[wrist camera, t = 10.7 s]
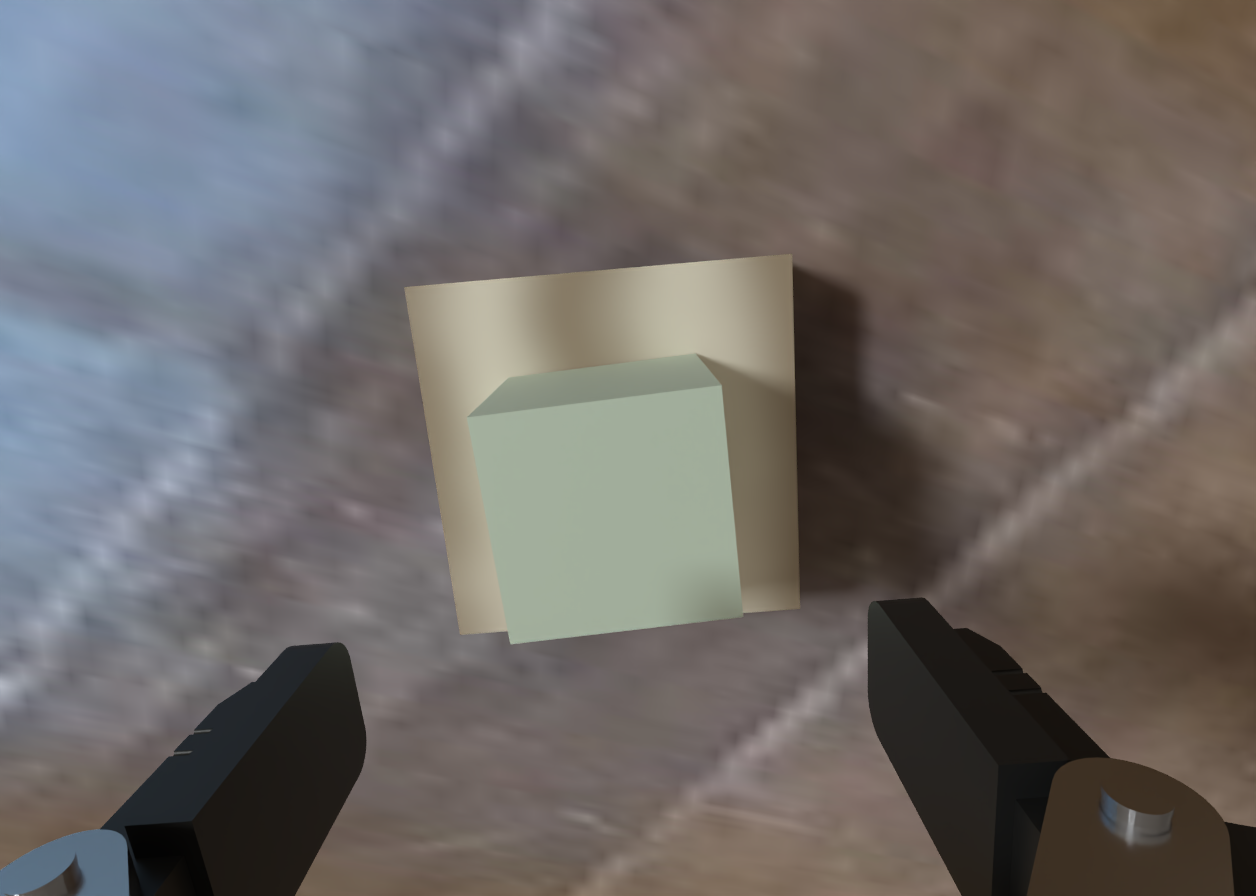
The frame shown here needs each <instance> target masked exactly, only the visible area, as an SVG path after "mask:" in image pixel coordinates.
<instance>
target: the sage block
mask: <svg viewBox="0 0 1256 896" xmlns="http://www.w3.org/2000/svg"><path fill="white" fill-rule="evenodd" d="M467 422H468V427H469V432H470V437H471V443H472V448H473V453H474V458H475V463H476V468H477V474H478V479H479V484H480V489H481V494H482V500H483V505H484V510H485V515H486V520H487V526H488V531H489V536H490V541H491V546H492V552H493V557H494V562H495V567H496V572H497V577H498V583H499V588H500V593H501V598H502V603H503V609H504V614H505V619H506V624H507V629H508V635H509V640H510V644H517V643H525V642H534V641H542V640H551V639H559V638H568V637H577V636H585V635H594V634H602V633H611V632H619V631H628V630H636V629H645V628H653V627H662V626H670V625H679V624H687V623H696V622H704V621H713V620H721V619H730V618H738V617H743V608H742V597H741V587H740V576H739V565H738V555H737V544H736V533H735V523H734V512H733V501H732V491H731V480H730V469H729V459H728V448H727V437H726V427H725V416H724V405H723V395H722V385H721V384H720V383H719V381H718V380H717V379H716V378H715V376H714V375H713V374H712V373H711V372H710V370H709V369H708V368H707V367H706V366H705V364H704V363H703V362H702V361H701V359H700V358H699V357H698V356H697V355H696V353H695V354H688V355H680V356H672V357H664V358H657V359H649V360H641V361H633V362H625V363H618V364H610V365H602V366H594V367H586V368H579V369H571V370H563V371H555V372H548V373H540V374H532V375H524V376H516V377H509V378H508V379H507V380H505V381H504V382H503V383H502V384H501V385H500V386H499V387H498V388H497V389H496V390H495V391H494V392H493V393H492V394H491V395H490V396H489V397H488V398H487V399H486V400H485V401H483V402H482V403H481V404H480V405H479V406H478V407H477V408H476V409H475V410H474V411H473V412H472V413H471V414H470V415H469V416H468V417H467Z"/></svg>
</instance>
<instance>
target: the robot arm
mask: <svg viewBox="0 0 1256 896" xmlns="http://www.w3.org/2000/svg"><path fill="white" fill-rule="evenodd" d="M868 700H869V708H870V713H871V718H872V722H873V725H874V728H875V731H876V734H877V736H878V738H879V740H880V742H881V744H882V746H883V748H884V750H885V752H886V753H887V755H888V757H889V759H890V761H891V763H892V765H893V767H894V769H895V771H896V772H897V774H898V776H899V778H900V780H901V782H902V784H903V786H904V788H905V789H906V791H907V793H908V795H909V797H910V799H911V801H912V803H913V805H914V806H915V808H916V810H917V812H918V814H919V816H920V818H921V820H922V822H923V823H924V825H925V827H926V829H927V831H928V833H929V835H930V837H931V839H932V840H933V842H934V844H935V846H936V848H937V850H938V852H939V854H940V856H941V857H942V859H943V861H944V863H945V865H946V867H947V869H948V871H949V873H950V875H951V876H952V878H953V880H954V882H955V884H956V886H957V888H958V890H959V892H960V893H961V895H962V896H1256V827H1250V826H1244V825H1238V824H1233V823H1228V822H1224V821H1223V819H1222V817H1221V816H1220V815H1219V813H1218V812H1217V811H1216V810H1215V808H1214V807H1213V806H1212V805H1211V804H1209V803H1208V802H1207V801H1206V800H1205V799H1204V798H1203V797H1202V796H1200V795H1199V794H1198V793H1196V792H1195V791H1194V790H1192V789H1191V788H1189V787H1188V786H1186V785H1185V784H1183V783H1181V782H1180V781H1178V780H1176V779H1174V778H1172V777H1170V776H1168V775H1166V774H1164V773H1161V772H1159V771H1157V770H1154V769H1152V768H1149V767H1146V766H1143V765H1140V764H1136V763H1132V762H1128V761H1124V760H1118V759H1112V758H1110V757H1109V756H1108V755H1107V754H1106V753H1105V752H1104V751H1103V750H1102V749H1101V748H1100V747H1099V746H1098V745H1097V744H1096V743H1095V742H1094V741H1093V740H1092V739H1091V738H1090V737H1089V736H1088V735H1087V734H1086V733H1085V732H1084V731H1083V730H1082V729H1081V728H1080V727H1079V726H1078V725H1077V724H1076V723H1075V722H1074V721H1073V720H1072V719H1071V718H1070V717H1069V716H1068V715H1067V714H1066V713H1065V712H1064V710H1063V709H1062V708H1061V707H1060V706H1059V705H1058V704H1057V703H1056V702H1055V701H1054V700H1053V699H1052V698H1051V697H1050V696H1049V695H1048V694H1047V693H1042V690H1041V687H1040V686H1039V685H1038V684H1037V683H1036V682H1035V681H1034V680H1033V679H1032V678H1031V677H1030V676H1029V675H1028V674H1027V673H1023V671H1022V668H1021V667H1020V666H1019V665H1018V664H1017V663H1016V662H1015V661H1014V660H1013V659H1012V658H1011V657H1010V655H1009V654H1008V653H1007V652H1006V651H1005V650H1004V649H1003V648H1002V647H1001V646H999V645H997V644H996V643H994V642H992V641H990V640H988V639H986V638H985V637H983V636H981V635H979V634H977V633H975V632H973V631H972V630H970V629H968V628H961V629H953V628H952V627H951V626H950V625H949V624H948V623H947V622H946V620H945V619H944V618H943V617H942V616H941V615H940V614H939V613H938V612H937V610H936V609H935V608H934V607H933V606H932V605H931V604H930V603H929V601H927V600H926V599H925V598H910V599H897V600H885V601H873V602H872V603H871V604H870V606H869V610H868ZM365 753H366V730H365V725H364V720H363V715H362V711H361V706H360V702H359V697H358V692H357V688H356V683H355V678H354V674H353V669H352V664H351V660H350V656H349V653H348V650H347V649H346V647H345V646H344V645H343V644H342V643H338V642H337V643H325V644H312V645H299V646H290V647H288V648H286V649H285V650H284V651H283V652H282V653H281V654H280V655H279V657H278V658H277V659H276V660H275V661H274V662H273V663H272V664H271V665H270V666H269V668H268V669H267V670H266V671H265V672H264V673H263V674H262V675H261V676H260V677H259V679H258V680H257V681H256V682H252V683H250V684H249V685H247V686H245V687H244V688H242V689H241V690H239V691H238V692H236V693H235V694H233V695H232V696H230V697H229V698H227V699H226V700H224V701H223V702H221V703H220V704H218V705H217V706H216V707H215V708H214V709H213V711H212V712H211V713H210V714H209V715H208V716H207V717H206V718H205V719H204V720H203V721H202V722H201V723H200V724H199V725H198V726H197V727H196V728H195V730H194V735H189V736H188V737H187V738H186V739H185V740H184V741H183V742H182V743H181V744H180V745H179V746H178V747H177V748H176V750H175V751H174V756H171V757H168V758H167V759H166V760H165V761H164V762H163V763H162V764H161V765H160V766H159V767H158V768H157V770H156V771H155V772H154V773H153V774H152V775H151V776H150V777H149V778H148V779H147V780H146V781H145V782H144V783H143V784H142V785H141V786H140V787H139V789H138V790H137V791H136V792H135V793H134V794H133V795H132V796H131V797H130V798H129V799H128V800H127V801H126V802H125V803H124V804H123V805H122V806H121V807H120V809H119V810H118V811H117V812H116V813H115V814H114V815H113V816H112V817H111V818H110V819H109V820H108V821H107V822H106V823H105V824H104V825H103V826H102V828H101V829H98V830H88V831H84V832H79V833H75V834H72V835H68V836H65V837H62V838H60V839H57V840H54V841H52V842H49V843H47V844H45V845H43V846H41V847H39V848H36V849H34V850H33V851H31V852H29V853H27V854H25V855H23V856H22V857H20V858H18V859H17V860H15V861H14V862H12V863H10V864H9V865H7V866H6V867H5V868H3V869H2V870H0V896H295V894H296V892H297V890H298V889H299V887H300V885H301V883H302V881H303V879H304V877H305V876H306V874H307V872H308V870H309V868H310V866H311V864H312V863H313V861H314V859H315V857H316V855H317V853H318V851H319V849H320V848H321V846H322V844H323V842H324V840H325V838H326V836H327V835H328V833H329V831H330V829H331V827H332V825H333V823H334V822H335V820H336V818H337V816H338V814H339V812H340V810H341V809H342V807H343V805H344V803H345V801H346V799H347V797H348V795H349V794H350V792H351V790H352V788H353V786H354V784H355V782H356V781H357V779H358V777H359V775H360V773H361V770H362V767H363V763H364V759H365Z"/></svg>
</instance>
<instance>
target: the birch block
mask: <svg viewBox="0 0 1256 896" xmlns="http://www.w3.org/2000/svg"><path fill="white" fill-rule="evenodd" d="M404 288H405V294H406V300H407V306H408V313H409V319H410V325H411V331H412V338H413V344H414V350H415V356H416V362H417V369H418V375H419V381H420V387H421V394H422V400H423V406H424V412H425V419H426V425H427V431H428V437H429V443H430V450H431V456H432V462H433V468H434V475H435V481H436V487H437V493H438V499H439V506H440V512H441V518H442V524H443V531H444V537H445V543H446V549H447V556H448V562H449V568H450V574H451V580H452V587H453V593H454V599H455V605H456V612H457V618H458V624H459V630H460V635H463V634H476V633H489V632H502V631H508V629H507V624H506V619H505V614H504V609H503V603H502V598H501V593H500V588H499V583H498V577H497V572H496V567H495V562H494V557H493V552H492V546H491V541H490V536H489V531H488V526H487V520H486V515H485V510H484V505H483V500H482V494H481V489H480V484H479V479H478V474H477V468H476V463H475V458H474V453H473V448H472V443H471V437H470V432H469V427H468V422H467V417H468V416H469V415H470V414H471V413H472V412H473V411H474V410H475V409H476V408H477V407H478V406H479V405H480V404H481V403H482V402H483V401H485V400H486V399H487V398H488V397H489V396H490V395H491V394H492V393H493V392H494V391H495V390H496V389H497V388H498V387H499V386H500V385H501V384H502V383H503V382H504V381H505V380H507V379H508V378H509V377H516V376H524V375H532V374H540V373H548V372H555V371H563V370H571V369H579V368H586V367H594V366H602V365H610V364H618V363H625V362H633V361H641V360H649V359H657V358H664V357H672V356H680V355H688V354H695V353H696V355H697V356H698V357H699V358H700V359H701V361H702V362H703V363H704V364H705V366H706V367H707V368H708V369H709V370H710V372H711V373H712V374H713V375H714V376H715V378H716V379H717V380H718V381H719V383H720V384H721V385H722V395H723V405H724V416H725V427H726V437H727V448H728V459H729V469H730V480H731V491H732V501H733V512H734V523H735V533H736V544H737V555H738V565H739V576H740V587H741V597H742V608H743V613H750V612H763V611H776V610H789V609H800V583H799V539H798V494H797V450H796V406H795V362H794V318H793V274H792V254H785V255H773V256H761V257H750V258H738V259H727V260H715V261H703V262H692V263H680V264H669V265H657V266H645V267H634V268H622V269H611V270H599V271H587V272H576V273H564V274H553V275H541V276H529V277H518V278H506V279H495V280H483V281H471V282H460V283H448V284H437V285H425V286H413V287H404Z"/></svg>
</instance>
